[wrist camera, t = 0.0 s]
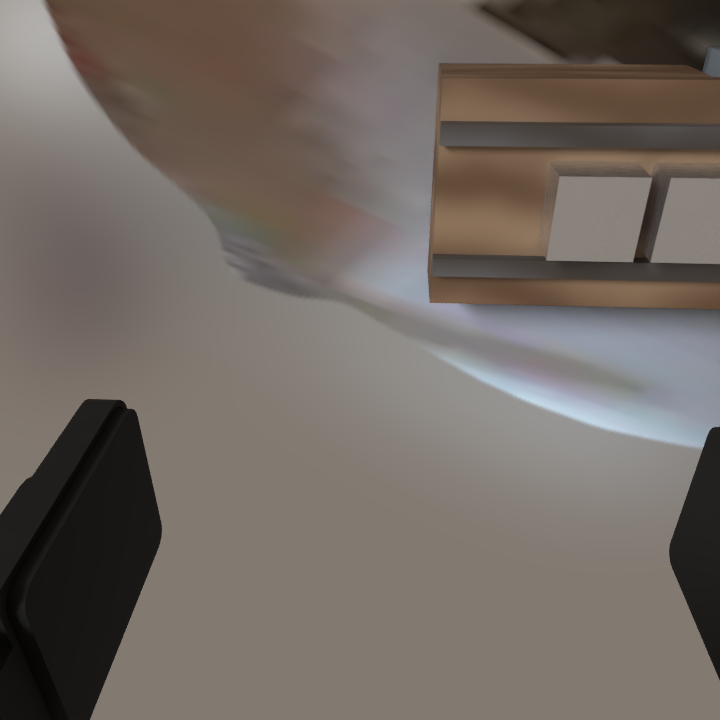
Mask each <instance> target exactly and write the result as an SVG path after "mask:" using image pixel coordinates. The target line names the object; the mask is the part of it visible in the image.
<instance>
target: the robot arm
mask: <svg viewBox="0 0 720 720" xmlns="http://www.w3.org/2000/svg"><path fill="white" fill-rule="evenodd" d="M161 534H162V526H161V520H160V515H159V511H158V506H157V502H156V497H155V493H154V488H153V484H152V479H151V475H150V470H149V466H148V461H147V457H146V452H145V448H144V443H143V439H142V435H141V430H140V425H139V421H138V416H137V414H136V412H135V410H133V409H127V407H126V404H125V403H124V402H123V401H121V400H101V399H88V400H85V401H84V402H83V403H82V405H81V406H80V407H79V409H78V410H77V412H76V413H75V415H74V416H73V417H72V419H71V420H70V422H69V423H68V425H67V426H66V428H65V429H64V431H63V432H62V434H61V435H60V436H59V438H58V439H57V441H56V442H55V444H54V445H53V447H52V448H51V450H50V451H49V453H48V454H47V456H46V457H45V458H44V460H43V461H42V463H41V464H40V466H39V467H38V469H37V470H36V472H35V473H34V475H33V476H32V477H30V478H28V479H26V480H25V482H24V483H23V484H22V485H21V486H20V487H19V489H18V490H17V492H16V493H15V494H14V496H13V497H12V499H11V500H10V502H9V503H8V505H7V506H6V507H5V509H4V510H3V512H2V513H1V515H0V720H90V718H91V715H92V713H93V710H94V708H95V705H96V703H97V700H98V698H99V695H100V693H101V690H102V688H103V685H104V683H105V680H106V678H107V675H108V673H109V670H110V668H111V665H112V662H113V660H114V658H115V655H116V653H117V650H118V648H119V645H120V643H121V640H122V638H123V635H124V633H125V630H126V628H127V625H128V623H129V620H130V618H131V615H132V612H133V610H134V608H135V605H136V602H137V600H138V598H139V595H140V592H141V590H142V588H143V585H144V583H145V580H146V578H147V575H148V573H149V570H150V567H151V565H152V563H153V560H154V558H155V555H156V553H157V550H158V548H159V544H160V540H161ZM669 553H670V554H669V555H670V562H671V566H672V569H673V571H674V573H675V576H676V578H677V580H678V583H679V585H680V587H681V590H682V592H683V594H684V597H685V599H686V601H687V604H688V606H689V609H690V611H691V613H692V616H693V618H694V621H695V623H696V625H697V628H698V630H699V632H700V635H701V637H702V639H703V642H704V644H705V647H706V649H707V651H708V654H709V656H710V658H711V661H712V663H713V665H714V668H715V670H716V672H717V675H718V677H719V679H720V427H714V428H712V429H711V430H710V431H709V434H708V436H707V439H706V442H705V445H704V447H703V450H702V453H701V456H700V459H699V462H698V465H697V468H696V471H695V474H694V476H693V479H692V482H691V485H690V488H689V491H688V494H687V497H686V500H685V502H684V505H683V508H682V511H681V514H680V517H679V520H678V523H677V526H676V528H675V531H674V534H673V537H672V540H671V543H670V549H669Z"/></svg>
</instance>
